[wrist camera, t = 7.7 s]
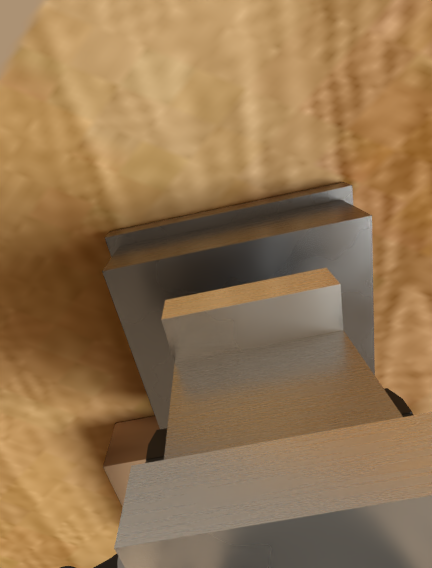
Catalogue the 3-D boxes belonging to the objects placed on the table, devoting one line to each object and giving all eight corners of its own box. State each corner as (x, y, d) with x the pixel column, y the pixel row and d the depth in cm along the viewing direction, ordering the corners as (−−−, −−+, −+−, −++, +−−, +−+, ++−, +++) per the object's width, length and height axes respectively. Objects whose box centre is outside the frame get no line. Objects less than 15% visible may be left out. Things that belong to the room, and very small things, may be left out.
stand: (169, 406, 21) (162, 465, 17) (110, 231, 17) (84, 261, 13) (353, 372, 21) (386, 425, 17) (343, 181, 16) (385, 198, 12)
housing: (165, 299, 11) (114, 548, 5) (326, 267, 11) (512, 482, 4) (221, 489, 15) (237, 771, 8) (341, 468, 14) (454, 744, 8)
